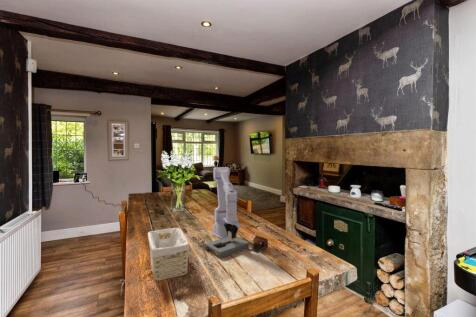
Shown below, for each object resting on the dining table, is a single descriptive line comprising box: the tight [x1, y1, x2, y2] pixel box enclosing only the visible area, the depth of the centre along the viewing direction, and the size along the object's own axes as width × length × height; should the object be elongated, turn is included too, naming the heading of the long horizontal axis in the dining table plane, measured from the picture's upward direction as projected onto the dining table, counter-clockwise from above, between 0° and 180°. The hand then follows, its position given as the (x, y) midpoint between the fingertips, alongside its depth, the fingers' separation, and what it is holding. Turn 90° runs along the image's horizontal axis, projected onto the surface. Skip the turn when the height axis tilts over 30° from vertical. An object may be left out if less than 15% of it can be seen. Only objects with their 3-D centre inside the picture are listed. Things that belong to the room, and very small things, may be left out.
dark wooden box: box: [251, 235, 269, 253], centre depth 132 cm, size 12×10×8 cm
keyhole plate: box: [204, 236, 249, 260], centre depth 133 cm, size 20×14×4 cm
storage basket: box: [147, 227, 190, 282], centre depth 112 cm, size 24×16×15 cm
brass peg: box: [228, 230, 238, 244], centre depth 135 cm, size 4×4×9 cm
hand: (231, 236), depth 134 cm, fingers closed on brass peg, 3 cm apart
